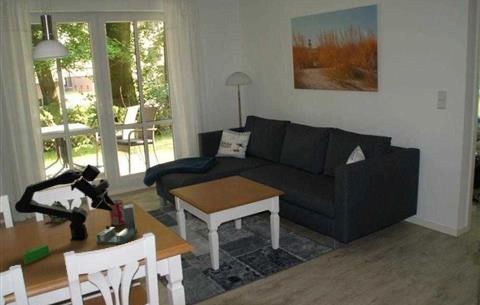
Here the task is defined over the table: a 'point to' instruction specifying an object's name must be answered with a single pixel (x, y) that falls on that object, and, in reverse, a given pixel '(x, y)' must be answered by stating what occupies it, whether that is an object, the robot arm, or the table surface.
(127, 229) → the striped teal board
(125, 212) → the steel bar
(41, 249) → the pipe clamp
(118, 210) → the beverage can
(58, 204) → the frog figurine
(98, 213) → the table surface
